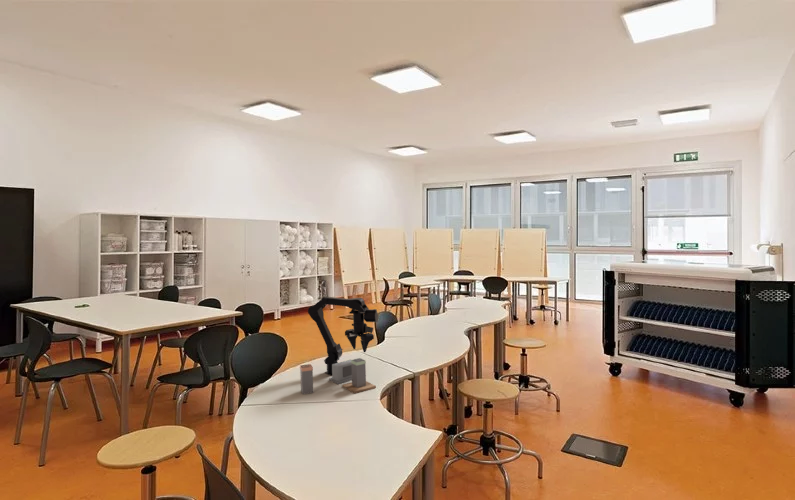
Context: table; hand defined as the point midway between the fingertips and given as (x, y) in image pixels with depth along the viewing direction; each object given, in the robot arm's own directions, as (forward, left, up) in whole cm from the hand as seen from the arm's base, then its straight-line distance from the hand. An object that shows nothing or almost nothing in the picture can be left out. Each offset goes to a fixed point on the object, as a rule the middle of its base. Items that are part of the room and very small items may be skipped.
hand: (359, 350), depth 236 cm
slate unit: (0, -10, -13) cm, 16 cm away
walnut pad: (+15, -12, -13) cm, 23 cm away
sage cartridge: (+15, -12, -12) cm, 23 cm away
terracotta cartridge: (+2, -34, -13) cm, 36 cm away
